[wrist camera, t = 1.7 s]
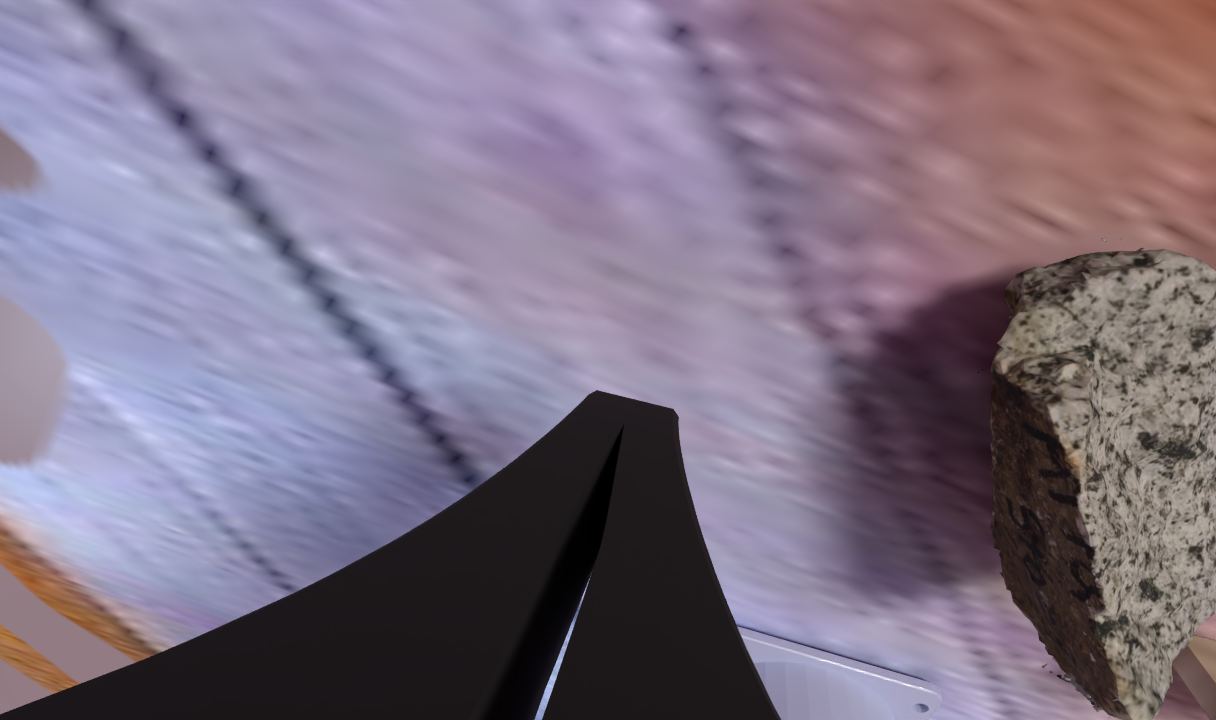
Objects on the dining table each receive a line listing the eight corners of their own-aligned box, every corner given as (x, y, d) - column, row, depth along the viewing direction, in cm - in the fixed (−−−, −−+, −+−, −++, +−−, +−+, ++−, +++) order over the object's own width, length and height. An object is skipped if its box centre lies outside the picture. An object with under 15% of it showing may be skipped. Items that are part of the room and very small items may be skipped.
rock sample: (1704, 652, 10) (1606, 1002, 6) (1149, 568, 17) (964, 711, 13) (1481, 99, 10) (1282, 148, 7) (1036, 245, 17) (830, 304, 14)
